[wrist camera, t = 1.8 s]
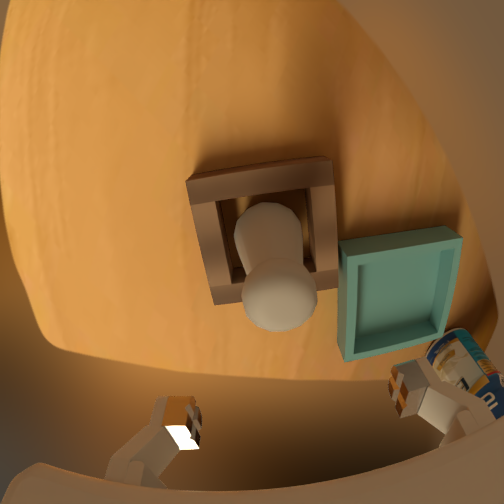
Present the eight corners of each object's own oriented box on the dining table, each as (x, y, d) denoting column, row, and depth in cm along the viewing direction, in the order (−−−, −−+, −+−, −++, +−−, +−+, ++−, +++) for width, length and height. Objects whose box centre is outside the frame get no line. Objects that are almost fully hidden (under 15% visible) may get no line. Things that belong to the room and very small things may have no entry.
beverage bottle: (462, 356, 37) (519, 449, 19) (419, 375, 38) (470, 481, 20) (472, 317, 34) (546, 415, 16) (425, 337, 35) (494, 453, 16)
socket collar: (191, 174, 26) (185, 181, 23) (323, 155, 25) (332, 160, 22) (216, 288, 31) (214, 305, 28) (330, 272, 30) (338, 287, 27)
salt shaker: (222, 220, 28) (204, 299, 16) (273, 182, 26) (295, 237, 14) (260, 265, 30) (269, 362, 18) (309, 231, 28) (351, 314, 16)
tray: (336, 241, 29) (347, 256, 25) (445, 225, 28) (462, 237, 25) (337, 342, 34) (344, 362, 31) (430, 320, 33) (442, 337, 30)
